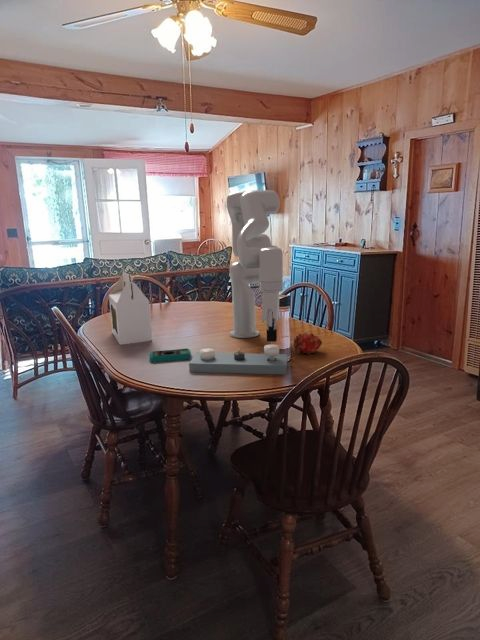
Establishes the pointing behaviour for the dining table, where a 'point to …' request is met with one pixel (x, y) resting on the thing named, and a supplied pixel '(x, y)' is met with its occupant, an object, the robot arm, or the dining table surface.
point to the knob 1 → (207, 354)
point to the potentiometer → (239, 355)
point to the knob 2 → (271, 351)
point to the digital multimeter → (170, 355)
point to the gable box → (129, 312)
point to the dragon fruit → (307, 343)
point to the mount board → (240, 364)
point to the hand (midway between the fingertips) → (271, 340)
